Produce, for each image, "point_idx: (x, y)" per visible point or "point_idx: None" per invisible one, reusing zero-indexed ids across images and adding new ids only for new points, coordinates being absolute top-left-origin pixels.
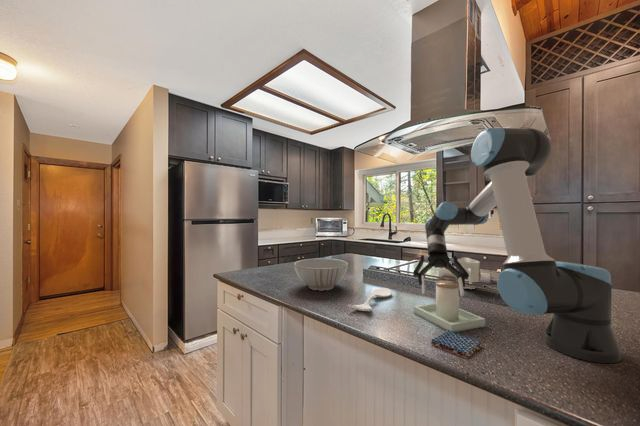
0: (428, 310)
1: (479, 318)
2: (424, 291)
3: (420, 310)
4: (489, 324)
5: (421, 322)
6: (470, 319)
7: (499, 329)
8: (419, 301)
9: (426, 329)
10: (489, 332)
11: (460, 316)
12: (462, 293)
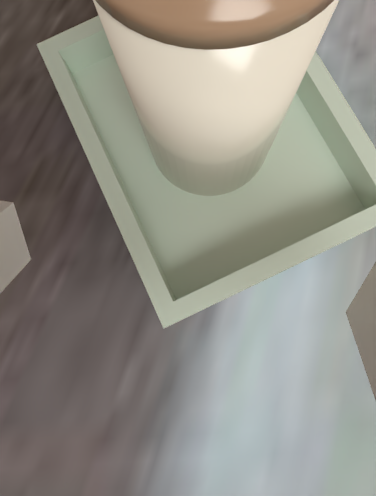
0: (288, 244)
1: (64, 44)
2: (366, 278)
3: (371, 148)
4: (23, 100)
5: (360, 87)
6: (93, 121)
7: (10, 49)
8: (299, 472)
9: (352, 9)
10: (72, 14)
11: (128, 161)
12: (11, 216)
